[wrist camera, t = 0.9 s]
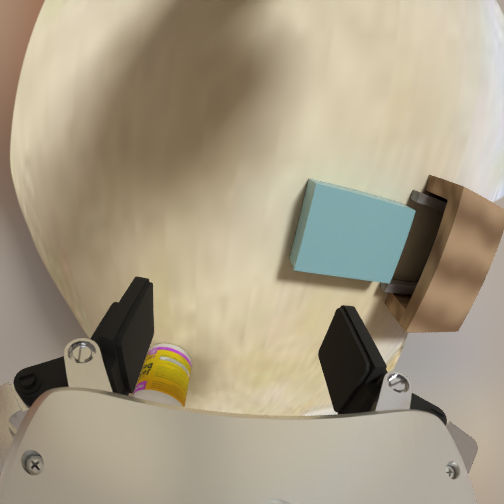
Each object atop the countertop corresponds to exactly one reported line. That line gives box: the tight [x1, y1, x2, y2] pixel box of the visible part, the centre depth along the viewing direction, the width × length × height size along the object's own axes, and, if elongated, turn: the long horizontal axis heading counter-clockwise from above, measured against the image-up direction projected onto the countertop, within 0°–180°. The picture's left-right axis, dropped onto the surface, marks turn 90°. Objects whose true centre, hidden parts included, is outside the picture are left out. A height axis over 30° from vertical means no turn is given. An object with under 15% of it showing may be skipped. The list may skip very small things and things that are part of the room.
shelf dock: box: [380, 175, 504, 332], centre depth 27 cm, size 18×13×6 cm
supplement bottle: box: [133, 343, 192, 407], centre depth 30 cm, size 7×7×13 cm
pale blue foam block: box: [290, 179, 416, 283], centre depth 28 cm, size 9×12×3 cm
